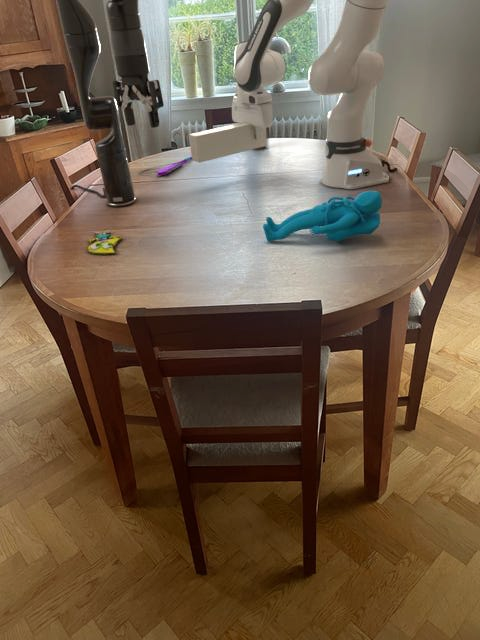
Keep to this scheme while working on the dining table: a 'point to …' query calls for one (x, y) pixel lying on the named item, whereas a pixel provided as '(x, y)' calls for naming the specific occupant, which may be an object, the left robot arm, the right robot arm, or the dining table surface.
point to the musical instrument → (168, 167)
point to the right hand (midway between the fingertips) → (252, 138)
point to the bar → (225, 141)
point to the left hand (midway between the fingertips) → (143, 126)
